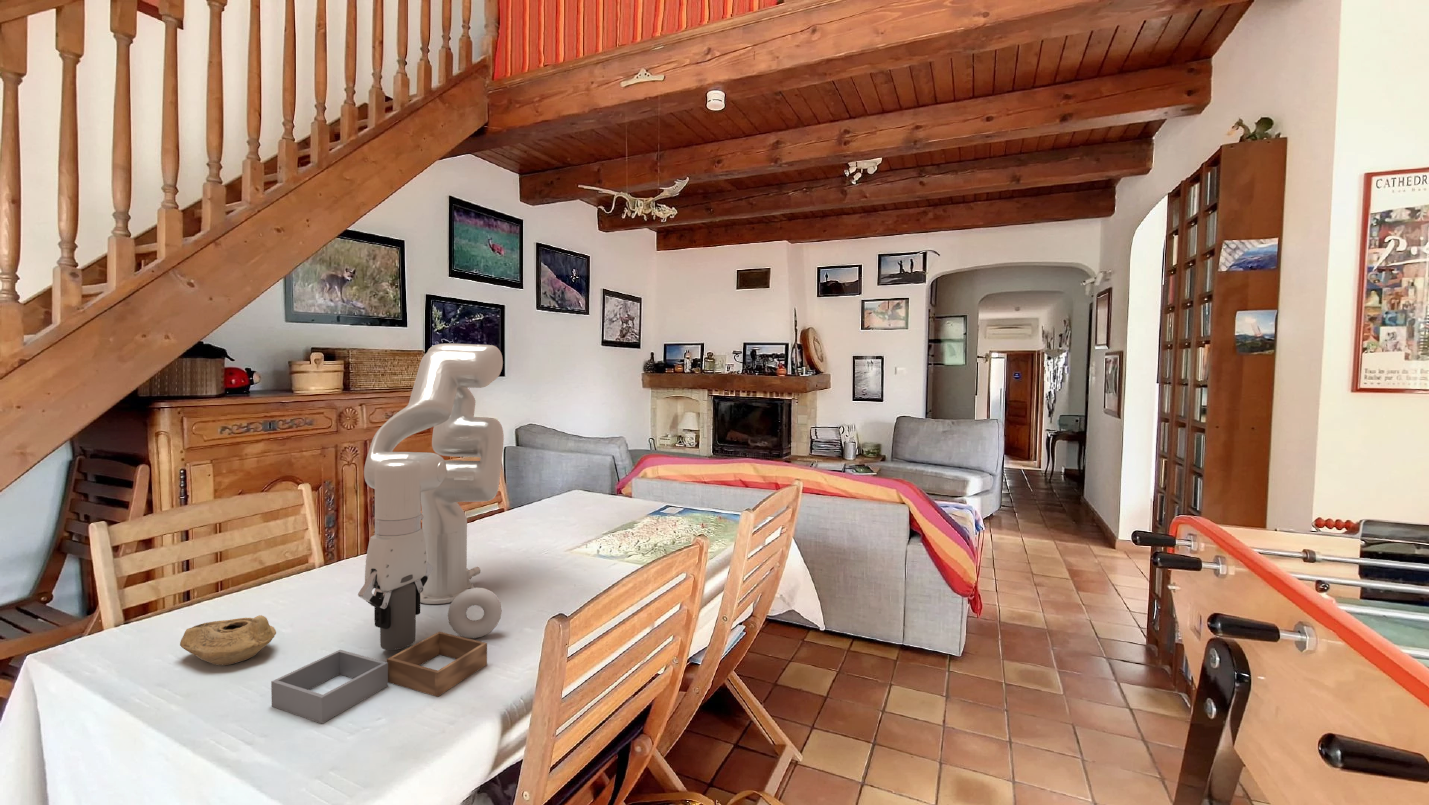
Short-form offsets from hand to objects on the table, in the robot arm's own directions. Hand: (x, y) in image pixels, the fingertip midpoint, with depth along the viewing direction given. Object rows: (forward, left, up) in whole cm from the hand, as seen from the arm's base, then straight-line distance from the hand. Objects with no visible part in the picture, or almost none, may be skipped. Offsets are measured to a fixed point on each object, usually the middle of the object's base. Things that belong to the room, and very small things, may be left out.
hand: (398, 619), depth 108 cm
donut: (-10, +9, -6) cm, 15 cm away
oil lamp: (+14, -25, -6) cm, 29 cm away
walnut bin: (+3, +13, -6) cm, 15 cm away
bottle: (0, 0, -5) cm, 5 cm away
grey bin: (+15, +3, -6) cm, 17 cm away
